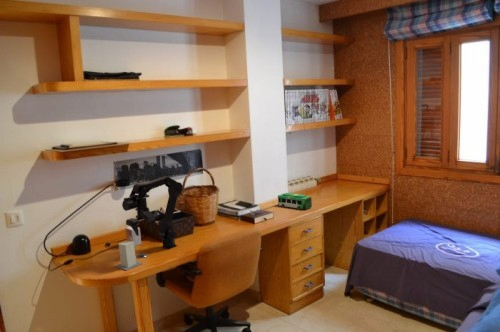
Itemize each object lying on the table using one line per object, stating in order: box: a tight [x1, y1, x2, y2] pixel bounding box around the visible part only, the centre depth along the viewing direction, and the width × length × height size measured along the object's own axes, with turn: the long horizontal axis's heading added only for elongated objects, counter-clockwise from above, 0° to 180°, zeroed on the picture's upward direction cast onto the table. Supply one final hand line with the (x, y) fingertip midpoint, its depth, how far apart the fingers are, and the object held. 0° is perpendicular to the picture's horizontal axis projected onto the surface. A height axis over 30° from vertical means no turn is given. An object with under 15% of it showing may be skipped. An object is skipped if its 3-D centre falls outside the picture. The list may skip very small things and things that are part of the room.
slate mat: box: [114, 260, 143, 271], centre depth 215 cm, size 10×10×1 cm
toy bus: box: [277, 192, 313, 210], centre depth 309 cm, size 11×27×10 cm, turn 41°
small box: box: [125, 226, 142, 247], centre depth 248 cm, size 8×6×10 cm
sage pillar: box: [118, 240, 137, 267], centre depth 214 cm, size 6×6×12 cm
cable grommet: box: [136, 253, 148, 259], centre depth 227 cm, size 6×6×1 cm
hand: (144, 233), depth 225 cm, fingers open, 9 cm apart
